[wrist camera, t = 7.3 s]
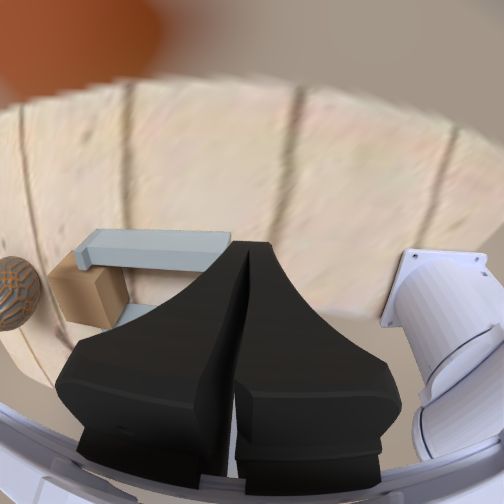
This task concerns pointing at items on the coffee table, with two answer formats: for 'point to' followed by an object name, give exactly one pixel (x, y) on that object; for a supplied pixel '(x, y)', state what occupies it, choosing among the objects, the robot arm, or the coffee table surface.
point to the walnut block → (89, 292)
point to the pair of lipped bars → (150, 254)
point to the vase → (17, 292)
